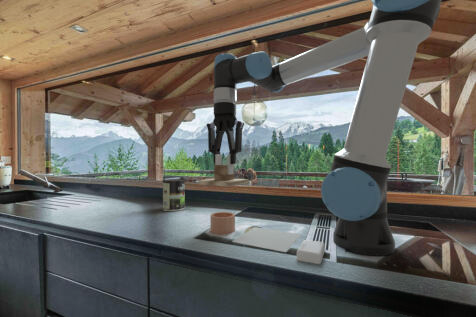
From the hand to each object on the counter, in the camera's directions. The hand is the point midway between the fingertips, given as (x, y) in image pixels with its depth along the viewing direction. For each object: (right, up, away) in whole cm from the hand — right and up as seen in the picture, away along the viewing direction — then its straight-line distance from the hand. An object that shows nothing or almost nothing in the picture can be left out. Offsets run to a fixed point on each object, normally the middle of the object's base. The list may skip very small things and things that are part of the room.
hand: (224, 173), depth 77 cm
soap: (+23, -20, -20) cm, 36 cm away
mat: (+14, -19, -7) cm, 25 cm away
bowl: (-1, -19, 0) cm, 19 cm away
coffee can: (-26, -19, +35) cm, 47 cm away
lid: (0, -3, 0) cm, 3 cm away
